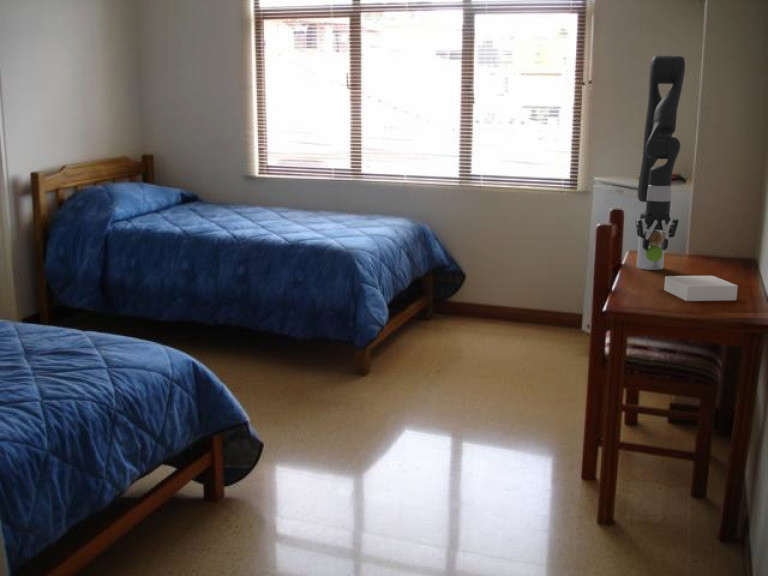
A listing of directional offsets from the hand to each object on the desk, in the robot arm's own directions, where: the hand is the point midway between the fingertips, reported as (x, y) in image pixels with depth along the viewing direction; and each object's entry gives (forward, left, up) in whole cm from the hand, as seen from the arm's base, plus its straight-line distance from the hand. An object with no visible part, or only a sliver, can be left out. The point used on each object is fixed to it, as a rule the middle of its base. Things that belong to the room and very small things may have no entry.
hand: (654, 249), depth 270 cm
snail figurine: (0, 0, -4) cm, 4 cm away
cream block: (+15, +9, -12) cm, 22 cm away
